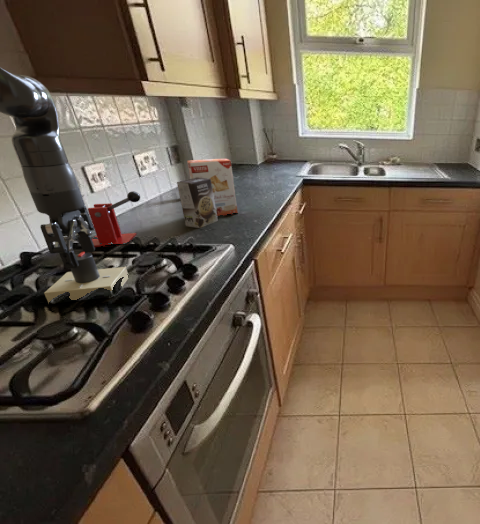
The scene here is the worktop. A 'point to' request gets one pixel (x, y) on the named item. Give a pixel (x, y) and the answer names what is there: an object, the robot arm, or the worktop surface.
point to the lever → (125, 200)
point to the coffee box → (197, 202)
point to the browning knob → (85, 268)
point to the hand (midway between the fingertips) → (81, 259)
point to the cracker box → (217, 182)
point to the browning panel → (81, 289)
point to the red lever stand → (107, 226)
